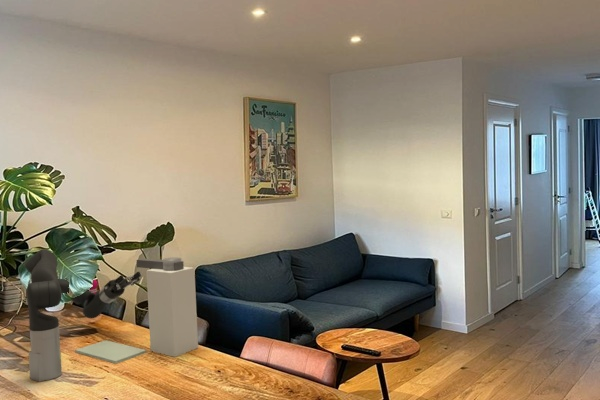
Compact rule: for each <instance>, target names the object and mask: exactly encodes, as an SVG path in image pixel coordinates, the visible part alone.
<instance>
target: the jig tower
mask: <svg viewBox="0 0 600 400" xmlns="http://www.w3.org/2000/svg"><path fill="white" fill-rule="evenodd" d="M195 271H196V270H195V267H191V266H190V267H189V266H184V269H181V270H177V271H164V270H163V269H151V268H149V269H146V286H147V287H146V291H147V303H148V305H147V306H148V308H147V309H148V322H149V323H148V324H149V325H148V326H149V343H150V345H149V346H150V352H152V351H153V353H156V352H157V354H160V353H161V355H164V354H165V355H164V356H168V357H173V358H177V357H178V356H182V355H184V354H187V353H189V352H191V350H192V351H194V350H196V349H199V338H198V337H199V335H198V319H197V318H198V315H197V298H196V297H197V296H196V292H197V291H196V278H195V277H196V274H195V273H196V272H195ZM186 352H187V353H186ZM181 354H182V355H181Z"/></svg>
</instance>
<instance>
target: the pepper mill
mask: <svg viewBox="0 0 600 400" xmlns="http://www.w3.org/2000/svg"><path fill="white" fill-rule="evenodd" d="M97 287H98V281H97V280H96V279H94V281H93V287H92V288H91V289H90V290H89V291H90V292H92V293H94V294H97V292H98V288H97ZM86 302H87V301H86V300H85V303H86ZM100 315H101V313H100V314H99V316H100Z"/></svg>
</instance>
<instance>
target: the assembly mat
mask: <svg viewBox="0 0 600 400" xmlns="http://www.w3.org/2000/svg"><path fill="white" fill-rule="evenodd" d="M74 352H75V354H80V355H83V356H87V357H90V358H93V359H97V360H100V361H104V362H108V363H111V364H115V365H116V364H119V363H121V362H125V361H127V360H131V359H133V358H136V357H138V356H142V355H143V354H147V349H143V348H138V347H135V346H131V345H127V344H123V343H119V342H115V341H111V340H107V339H105V340H102V341H99V342H96V343H92V344H89V345H85V346H83V347H80V348H76V349H75V350H74Z"/></svg>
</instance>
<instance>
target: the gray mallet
mask: <svg viewBox="0 0 600 400" xmlns="http://www.w3.org/2000/svg"><path fill="white" fill-rule="evenodd" d="M184 267H185V266H184V261H183V260H182V258H181V257H167V258H162V259H160V258H159V259H158V258H146V257H145V258H143V257H142V258H138V259H136V268H139V269H140V268H141V269H163V270H164V271H177V270H181V269H184Z"/></svg>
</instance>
